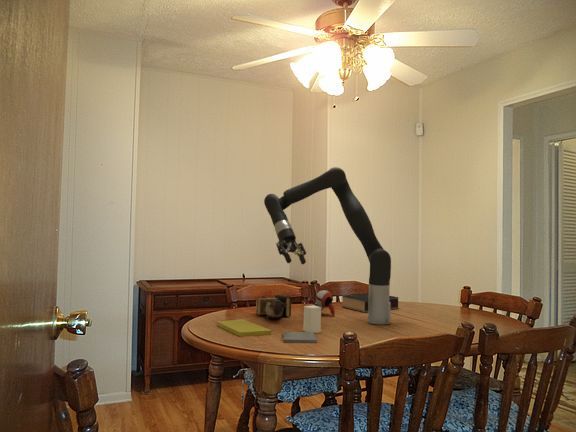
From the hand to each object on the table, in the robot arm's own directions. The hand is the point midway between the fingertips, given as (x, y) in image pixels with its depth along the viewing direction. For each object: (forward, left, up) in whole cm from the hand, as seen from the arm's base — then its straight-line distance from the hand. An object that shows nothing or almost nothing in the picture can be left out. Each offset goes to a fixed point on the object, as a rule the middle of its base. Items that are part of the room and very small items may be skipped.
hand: (296, 263), depth 192 cm
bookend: (+8, -16, -27) cm, 33 cm away
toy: (-13, -27, -27) cm, 40 cm away
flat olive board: (+22, +10, -27) cm, 37 cm away
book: (-43, -46, -27) cm, 69 cm away
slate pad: (0, +23, -27) cm, 35 cm away
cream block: (-6, +11, -27) cm, 30 cm away
